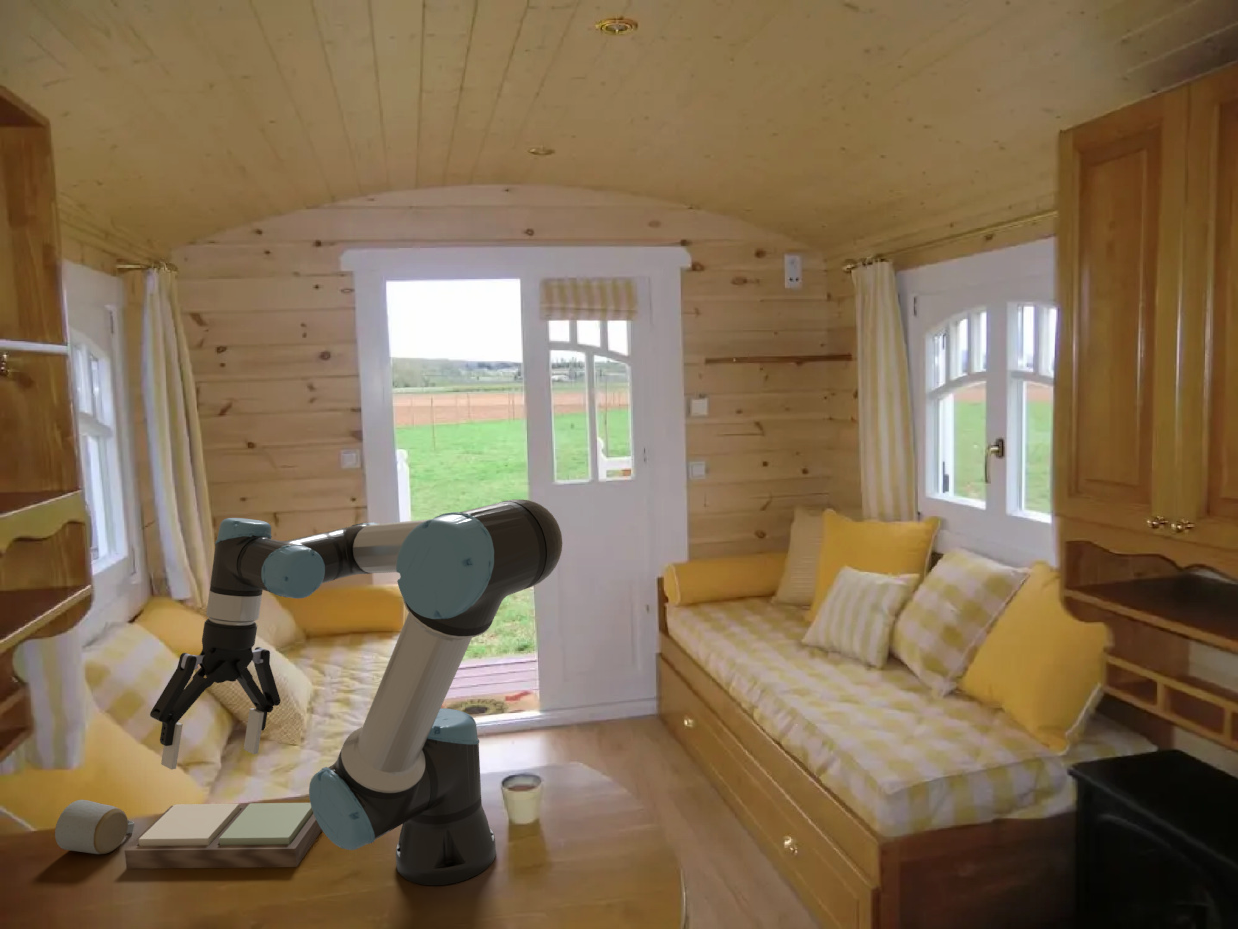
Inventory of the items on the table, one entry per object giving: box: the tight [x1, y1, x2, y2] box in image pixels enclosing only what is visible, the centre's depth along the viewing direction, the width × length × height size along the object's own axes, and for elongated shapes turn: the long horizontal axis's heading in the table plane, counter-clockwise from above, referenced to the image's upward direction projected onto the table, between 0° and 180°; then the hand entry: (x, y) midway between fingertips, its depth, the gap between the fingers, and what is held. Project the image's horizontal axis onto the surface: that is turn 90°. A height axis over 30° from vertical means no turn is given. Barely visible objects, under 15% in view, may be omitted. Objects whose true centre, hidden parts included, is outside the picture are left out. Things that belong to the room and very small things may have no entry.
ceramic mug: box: [54, 799, 135, 855], centre depth 152 cm, size 11×8×8 cm
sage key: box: [219, 802, 313, 845], centre depth 151 cm, size 11×11×3 cm
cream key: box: [139, 803, 241, 846], centre depth 151 cm, size 11×11×3 cm
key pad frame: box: [124, 804, 323, 870], centre depth 151 cm, size 27×14×3 cm, turn 87°
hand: (211, 759), depth 143 cm, fingers open, 13 cm apart
